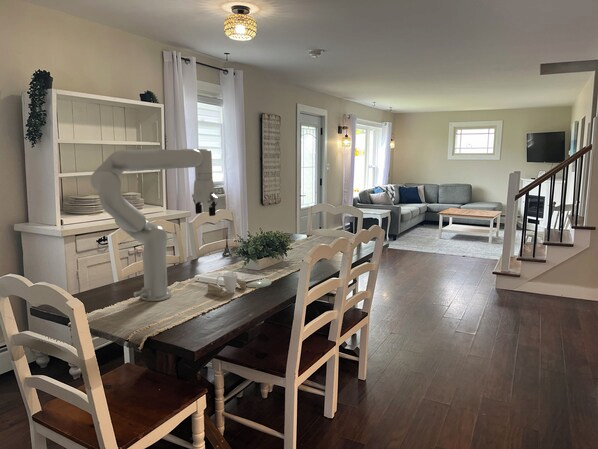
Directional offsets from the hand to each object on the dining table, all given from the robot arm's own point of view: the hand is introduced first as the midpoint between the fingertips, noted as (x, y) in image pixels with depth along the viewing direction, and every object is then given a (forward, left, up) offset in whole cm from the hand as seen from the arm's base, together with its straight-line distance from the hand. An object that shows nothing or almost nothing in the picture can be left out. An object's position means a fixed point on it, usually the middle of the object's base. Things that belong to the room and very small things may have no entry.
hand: (205, 214), depth 206 cm
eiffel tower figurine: (+42, +37, -34) cm, 66 cm away
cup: (+1, -13, -34) cm, 36 cm away
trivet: (+18, -14, -34) cm, 41 cm away
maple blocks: (+1, -13, -34) cm, 36 cm away
